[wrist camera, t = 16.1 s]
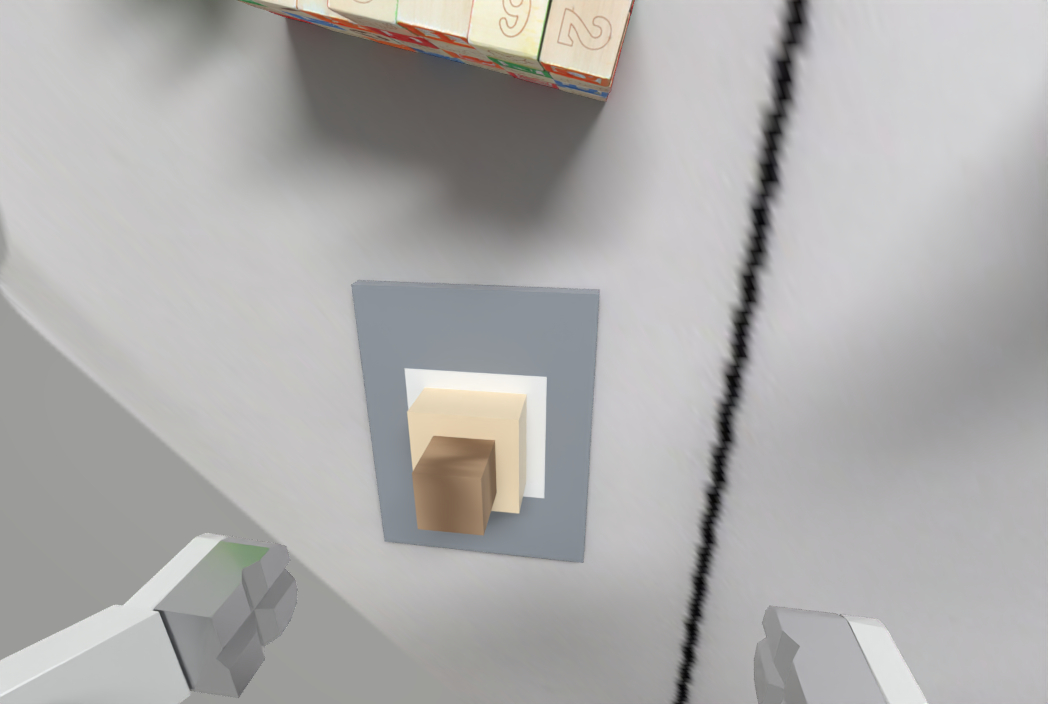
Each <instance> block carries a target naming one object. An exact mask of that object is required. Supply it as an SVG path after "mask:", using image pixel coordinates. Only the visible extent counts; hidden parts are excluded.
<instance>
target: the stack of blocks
mask: <svg viewBox="0 0 1048 704" xmlns="http://www.w3.org/2000/svg"><path fill="white" fill-rule="evenodd" d="M238 1H241V2H243V3H246V4H248V5H251V6H254V7H257V8H260V9H264V10H267V11H269V12H271V13H274V14H277V15H280V16H283V17H286V18H289V19H294V20H298V21H302V22H306V23H310V24H315V25H318V26H321V27H324V28H326V29H329V30H332V31H336V32H340V33H344V34H347V35H351V36H355V37H359V38H363V39H367V40H371V41H375V42H378V43H382V44H386V45H390V46H394V47H397V48H401V49H405V50H409V51H413V52H416V53H420V52H422V53H426V54H430V55H433V56H437V57H441V58H445V59H449V60H453V61H456V62H460V63H465V64H469V65H473V66H477V67H481V68H485V69H488V70H492V71H496V72H500V73H504V74H508V75H512V76H513V77H515V78H519V79H522V80H526V81H530V82H534V83H537V84H541V85H545V86H549V87H552V88H556V89H560V90H562V91H565V92H569V93H573V94H576V95H580V96H584V97H588V98H592V99H595V100H599V101H603V102H606V101H607V97H608V94H609V93H610V91H611V87H612V83H613V78H614V75H615V71H616V67H617V64H618V60H619V56H620V52H621V48H622V44H623V41H624V37H625V34H626V30H627V26H628V23H629V19H630V15H631V12H632V9H633V4H634V0H238Z"/></svg>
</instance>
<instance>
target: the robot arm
mask: <svg viewBox="0 0 1048 704" xmlns="http://www.w3.org/2000/svg"><path fill="white" fill-rule="evenodd" d="M289 562H290V556H289V553H288V550H287V547H286V546H285V545H281V544H277V543H271V542H265V541H258V540H252V539H246V538H239V537H233V536H224V535H217V534H211V533H205V534H202V535H200V536H197V537H195V538H194V539H193V540H192V541H191V542H190V543H189V544H188V545H187V546H186V547H184V548H183V549H182V550H181V551H180V552H179V553H178V554H177V555H176V556H175V557H174V558H173V559H172V560H171V561H170V562H169V563H168V564H167V565H165V566H164V567H163V568H162V569H161V570H160V571H159V572H158V573H157V574H156V575H155V576H154V577H153V578H152V579H151V580H149V581H148V582H147V583H146V584H145V585H144V586H143V587H142V588H141V589H140V590H139V591H138V592H137V593H136V594H135V595H134V596H132V597H131V598H130V599H129V600H128V601H127V602H126V603H125V604H124V605H123V606H122V605H113V606H111V607H109V608H107V609H105V610H103V611H101V612H99V613H96V614H94V615H93V616H90V617H88V618H86V619H84V620H82V621H80V622H78V623H76V624H74V625H72V626H70V627H68V628H66V629H64V630H62V631H60V632H58V633H55V634H53V635H51V636H49V637H47V638H45V639H43V640H41V641H39V642H37V643H35V644H33V645H31V646H29V647H27V648H25V649H23V650H20V651H19V652H16V653H14V654H12V655H10V656H8V657H6V658H4V659H2V660H0V704H179V703H180V702H182V701H183V700H184V699H186V698H187V697H188V696H189V695H191V692H190V691H194V692H201V693H208V694H215V695H222V696H228V697H235V698H239V697H240V695H241V694H242V692H243V690H244V689H245V688H246V686H247V685H248V683H249V682H250V681H251V679H252V678H253V676H254V674H255V673H256V672H257V670H258V669H259V667H260V666H261V664H262V663H263V661H264V660H265V646H266V645H267V644H268V643H270V642H272V641H273V640H275V639H276V638H278V637H279V636H281V635H282V633H283V631H284V630H285V628H286V627H287V625H288V624H289V622H290V621H291V618H292V615H293V612H294V609H295V607H296V604H297V591H298V589H297V585H296V580H295V578H294V577H293V576H292V575H291V574H290V573H289V572H288V571H287V570H286V569H285V568H286V566H287V565H288V563H289ZM762 624H763V628H764V631H765V635H766V638H764V639H763V640H762V641H760V642H759V643H757V647H756V652H755V657H754V681H755V688H756V695H757V699H758V703H759V704H928V702H927V700H926V698H925V696H924V695H923V693H922V691H921V689H920V687H919V686H918V684H917V682H916V680H915V678H914V677H913V675H912V673H911V671H910V670H909V668H908V666H907V664H906V662H905V661H904V659H903V657H902V655H901V653H900V652H899V650H898V648H897V646H896V644H895V643H894V641H893V639H892V637H891V635H890V634H889V632H888V630H887V628H886V626H885V625H884V624H883V623H882V622H881V621H880V620H878V619H875V618H867V617H859V616H851V615H842V614H840V615H838V614H836V613H828V612H819V611H811V610H802V609H793V608H785V607H776V606H769V607H768V608H767V610H766V611H765V614H764V618H763V622H762Z"/></svg>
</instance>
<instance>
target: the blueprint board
mask: <svg viewBox="0 0 1048 704" xmlns="http://www.w3.org/2000/svg"><path fill="white" fill-rule="evenodd" d="M351 286H352V294H353V301H354V309H355V317H356V324H357V332H358V340H359V347H360V355H361V363H362V370H363V378H364V386H365V393H366V401H367V409H368V416H369V424H370V432H371V439H372V447H373V455H374V463H375V470H376V478H377V486H378V493H379V501H380V509H381V516H382V524H383V532H384V539H385V541H386V542H396V543H405V544H414V545H424V546H433V547H442V548H451V549H461V550H470V551H479V552H489V553H498V554H507V555H516V556H526V557H535V558H544V559H554V560H563V561H572V562H581V563H583V560H584V543H585V526H586V509H587V493H588V476H589V459H590V442H591V425H592V408H593V392H594V375H595V358H596V341H597V324H598V307H599V290H594V289H568V288H542V287H516V286H490V285H465V284H439V283H413V282H387V281H361V280H358V281H357V282H355V283H353V284H351ZM433 436H444V437H457V438H471V439H485V440H495V456H496V488H497V493H496V496H495V500H494V503H493V506H492V510H491V513H490V516H489V520H488V523H487V526H486V530H485V533H484V536H483V535H473V534H462V533H452V532H442V531H432V530H421V529H418V526H417V517H416V507H415V498H414V488H413V479H412V472H413V470H414V468H415V467H416V465H417V463H418V461H419V460H420V458H421V456H422V455H423V453H424V451H425V449H426V448H427V446H428V444H429V442H430V441H431V439H432V437H433Z"/></svg>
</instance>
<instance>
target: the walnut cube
mask: <svg viewBox="0 0 1048 704" xmlns="http://www.w3.org/2000/svg"><path fill="white" fill-rule="evenodd" d="M412 479H413V488H414V498H415V507H416V517H417V526H418V529H421V530H432V531H442V532H452V533H462V534H473V535H483V536H484V533H485V530H486V526H487V523H488V520H489V516H490V513H491V510H492V506H493V503H494V500H495V496H496V493H497V488H496V456H495V440H485V439H471V438H457V437H444V436H433V437H432V439H431V441H430V442H429V444H428V446H427V448H426V449H425V451H424V453H423V455H422V456H421V458H420V460H419V461H418V463H417V465H416V467H415V468H414V470H413V472H412Z"/></svg>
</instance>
